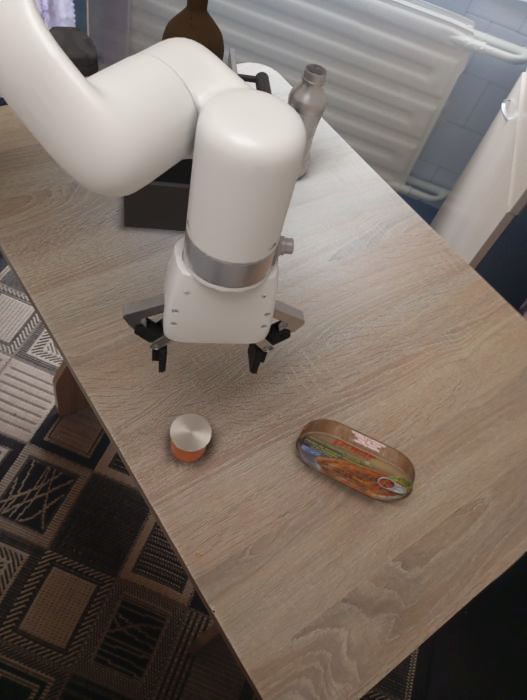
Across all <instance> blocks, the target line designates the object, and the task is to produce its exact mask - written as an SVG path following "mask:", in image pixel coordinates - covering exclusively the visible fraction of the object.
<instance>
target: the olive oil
mask: <svg viewBox="0 0 527 700" xmlns="http://www.w3.org/2000/svg"><path fill="white" fill-rule="evenodd" d="M208 5H209V0H186V6H185V7H184V8H183V9H182V10H181V11H179V12H177V14H175V15H174V16H173V17H171V18H170V20H168V22H167V24H166V25H165V27H164V29H163V34H162V36H161V37H162V38H161V41H164V40H166V39H170V38H175V37H179V38H187V39H191V40H194V41H196V42H198V43H200V44H201V45H203V46H204V47H206V48H207V49H209V50H210V51H211V52H212V53H214V54H215V55H216V56H217V57H218V58H219V59H220V60H222V61H223V60H224V55H225V42H224V36H223V34H222V30H221V29H220V27H219V26H218V24H217V23H216V21H215V20H214V19H213V17H212V16H211V14H210V13H209V11H208ZM223 62H224V61H223Z"/></svg>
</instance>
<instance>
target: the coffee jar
mask: <svg viewBox="0 0 527 700" xmlns="http://www.w3.org/2000/svg"><path fill="white" fill-rule="evenodd" d="M48 30H49V31H50V33H51V34H52V36H53V38H54V39H55V41H56V42H57V43H58V45H59V46H60V47H61V48H62V50H63V51H64V52H65V54H66V55H67V56H68V58H69V59H70V60H71V61H72V62H73V64H74V65H75V66H76V67H77V69H78V70H79V71H80V72H81V74H82V75H83V76H84V77H85V78H87V77H89V76H91V75H93V74H95V73H97V72H99V71H100V69H99V68H100V67H99V58H98V57H99V56H98V51H97V49H96V45H95V43H94V42H93V40H92V38H91V37H90V36H89V35H88V34H87V33H86V32H84V31H82V30H81V29H80V28H79V27H76V26H57V25H56V26H52V27H50V29H48Z"/></svg>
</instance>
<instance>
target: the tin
mask: <svg viewBox="0 0 527 700" xmlns="http://www.w3.org/2000/svg"><path fill="white" fill-rule="evenodd" d="M294 447H295V451H296V453H297V455H298V457H299V458H300V459H301V461H302V462H303V463H305V465H307V466H308V467H309V468H311V469H313V470H314V471H316V472H318V473H319V474H323V475H325V476H327V477H328V478H330V479H332V480H334V481H337V482H339V483H341V484H343V485H345V486H347V487H349V488H351V489H353V490H354V491H357V492H359V493H360V494H363V495H365V496H367V497H369V498H371V499H375V500H378V501H383V502H399V501H403V500H405V499H408V498H409V497H410V496H411V494H412V493H413V489H414V482H415V480H416V479H415V478H416V477H415V476H416V468H415V466H414V464H413V462H412V461H411V459H410V458H409V457H408V456H407V455H405V454H404V453H402V452H401V451H400V450H398V449H396V448H394V447H392V446H390V445H388V444H386V443H385V442H384V443H383V442H382V441H380V440H378V439H376V438H374V437H372V436H369V435H367V434H366V433H363V432H361V431H359V430H357V429H355V428H353V427H350V426H348V425H346V424H344V423H342V422H340V421H337V420H333V419H327V418H318V419H313V420H311V421H308V423H306V424H305V425H304V426H303V427H302V430H301V431H300V434H299V436H298V437H297V439H296V441H295V446H294Z"/></svg>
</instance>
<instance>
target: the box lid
mask: <svg viewBox="0 0 527 700" xmlns="http://www.w3.org/2000/svg"><path fill="white" fill-rule="evenodd" d="M226 65H227V66H228V67H229V68H230V69H231V70H233V71H234V72H235V73H236V74H237V75H238V76H239V77H240V78H241V79H242V80H244V81H245V82H246V83H252V84H255V90H259V91H263V92H267V93H269V94H272V88H271V82H270V78H269V77H270V76H269V75H268V73H267V72H265V71H259V72H257V73H256V74H255V75H251V74H244V73H238V66H237V57H236V50H235V48H232V47H229V50H228V58H227V63H226ZM272 95H273V94H272Z"/></svg>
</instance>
